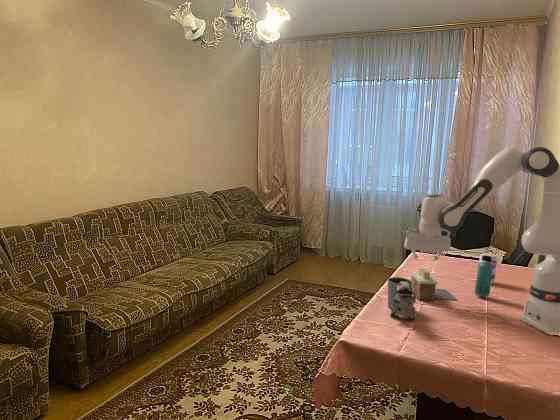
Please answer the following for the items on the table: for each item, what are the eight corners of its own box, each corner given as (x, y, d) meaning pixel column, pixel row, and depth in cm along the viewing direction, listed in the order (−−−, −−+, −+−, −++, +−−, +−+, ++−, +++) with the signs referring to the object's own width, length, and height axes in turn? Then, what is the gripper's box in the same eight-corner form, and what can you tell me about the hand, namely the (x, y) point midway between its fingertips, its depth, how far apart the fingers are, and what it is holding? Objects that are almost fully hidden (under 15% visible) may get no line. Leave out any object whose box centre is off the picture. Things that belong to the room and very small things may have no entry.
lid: (437, 284, 197) (438, 275, 196) (419, 283, 197) (420, 274, 196) (427, 275, 210) (428, 266, 209) (410, 274, 209) (411, 266, 209)
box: (434, 300, 199) (435, 283, 197) (418, 300, 198) (420, 283, 197) (424, 291, 210) (426, 275, 209) (410, 291, 210) (411, 275, 209)
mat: (457, 300, 201) (457, 299, 201) (435, 299, 201) (435, 298, 201) (445, 290, 215) (445, 289, 215) (425, 289, 214) (425, 288, 214)
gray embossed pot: (410, 313, 182) (413, 285, 180) (385, 310, 184) (388, 282, 182) (408, 304, 192) (411, 278, 190) (384, 302, 194) (387, 275, 192)
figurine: (386, 321, 172) (390, 285, 170) (393, 312, 182) (397, 277, 180) (410, 327, 168) (414, 289, 166) (416, 317, 178) (420, 282, 176)
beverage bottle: (473, 297, 206) (478, 256, 203) (474, 293, 212) (479, 253, 209) (488, 300, 203) (494, 258, 200) (489, 296, 209) (494, 255, 206)
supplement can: (496, 285, 226) (500, 257, 224) (480, 284, 226) (484, 256, 224) (489, 280, 234) (493, 253, 232) (473, 279, 234) (477, 252, 232)
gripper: (408, 230, 196) (404, 260, 199) (453, 232, 197) (449, 262, 199) (404, 227, 203) (400, 256, 205) (448, 229, 203) (444, 258, 206)
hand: (425, 259), depth 202 cm, fingers open, 8 cm apart
